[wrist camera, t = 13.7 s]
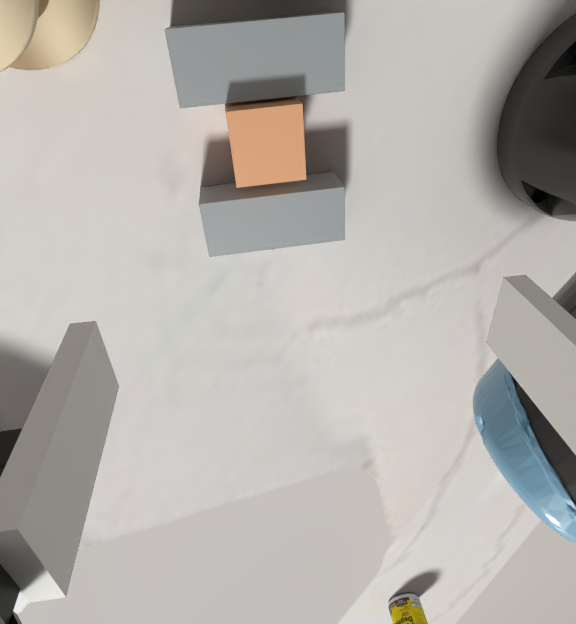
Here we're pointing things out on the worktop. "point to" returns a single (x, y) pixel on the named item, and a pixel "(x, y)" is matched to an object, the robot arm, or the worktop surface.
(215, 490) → the worktop surface
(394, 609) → the supplement bottle
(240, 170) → the block
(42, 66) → the bobbin
